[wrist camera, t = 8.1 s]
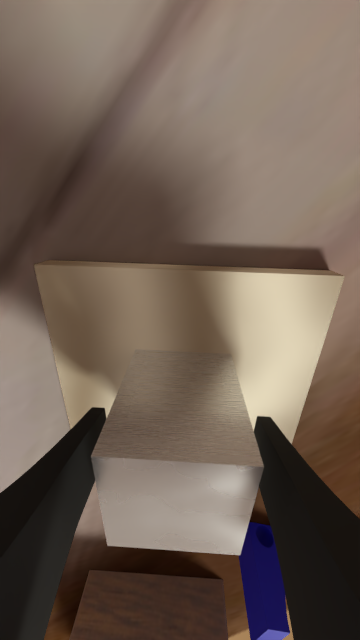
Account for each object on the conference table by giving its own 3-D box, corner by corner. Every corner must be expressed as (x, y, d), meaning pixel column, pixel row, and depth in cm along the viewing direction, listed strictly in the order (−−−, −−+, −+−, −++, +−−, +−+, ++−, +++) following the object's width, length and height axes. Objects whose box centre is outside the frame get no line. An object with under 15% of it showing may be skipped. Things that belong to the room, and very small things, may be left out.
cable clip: (382, 534, 21) (452, 650, 15) (355, 559, 22) (408, 669, 17) (253, 509, 20) (277, 620, 14) (236, 536, 22) (251, 644, 16)
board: (85, 450, 17) (78, 466, 16) (48, 260, 12) (33, 264, 11) (274, 461, 17) (280, 478, 16) (330, 270, 11) (344, 276, 10)
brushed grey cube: (139, 419, 14) (107, 545, 9) (135, 349, 12) (90, 456, 7) (221, 424, 14) (240, 555, 9) (230, 353, 12) (263, 466, 7)
